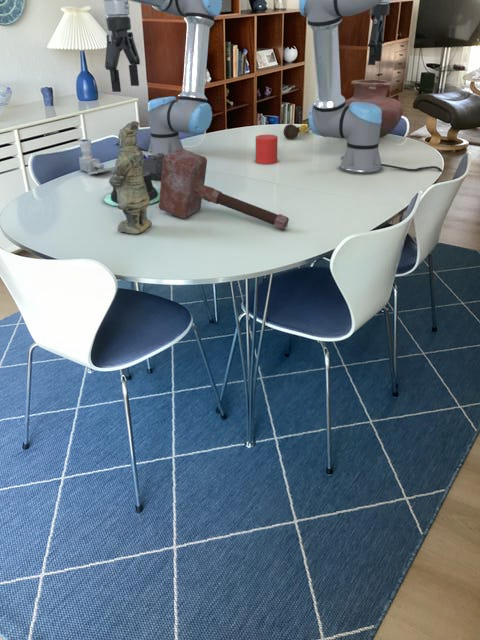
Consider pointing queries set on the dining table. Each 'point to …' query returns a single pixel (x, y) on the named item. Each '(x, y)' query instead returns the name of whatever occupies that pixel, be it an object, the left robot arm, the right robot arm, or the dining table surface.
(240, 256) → the dining table surface
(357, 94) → the clay pot
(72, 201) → the dining table surface
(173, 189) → the sledgehammer
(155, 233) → the dining table surface
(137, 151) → the statue
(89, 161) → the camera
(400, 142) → the dining table surface
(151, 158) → the toy
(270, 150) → the canister
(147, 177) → the chocolate cake
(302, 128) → the figurine
